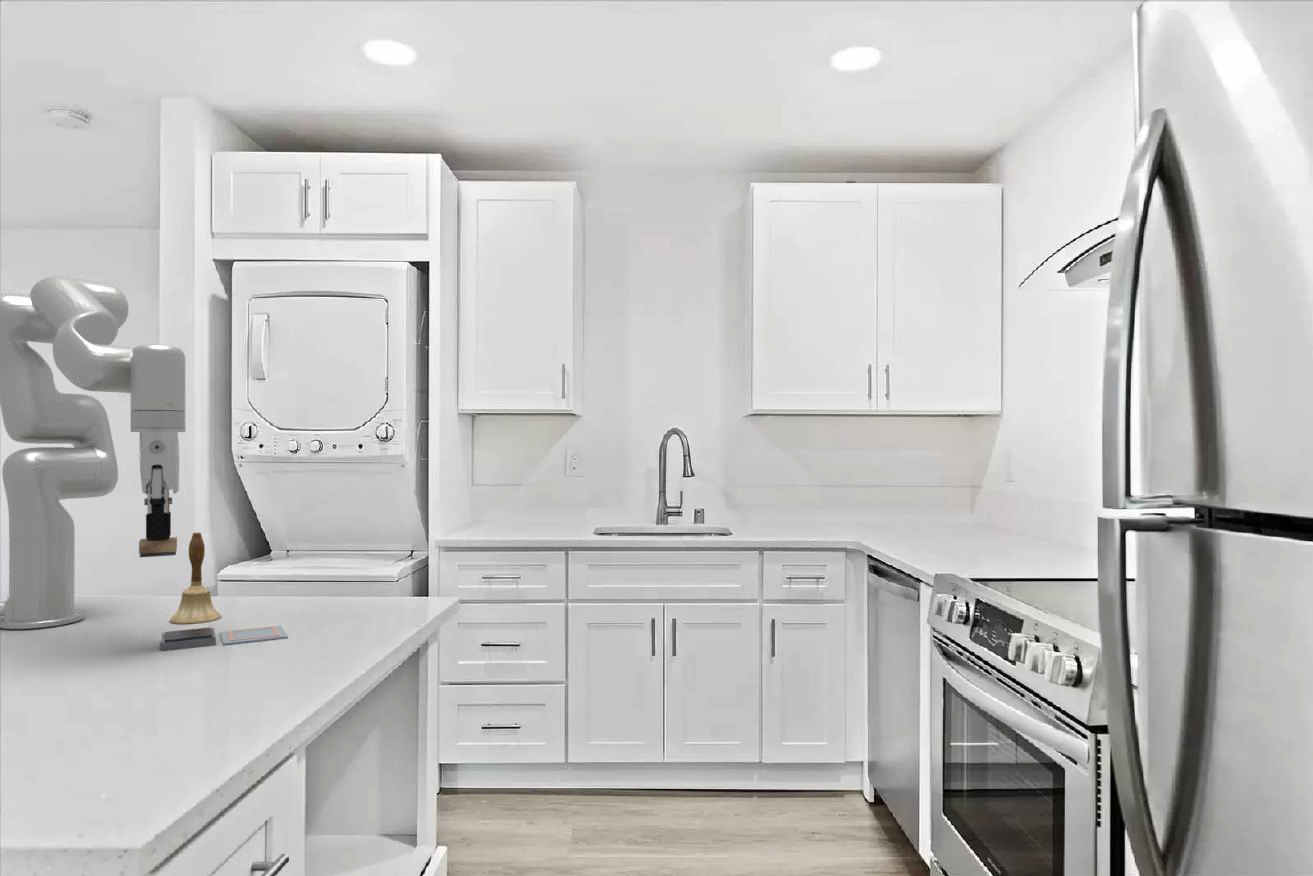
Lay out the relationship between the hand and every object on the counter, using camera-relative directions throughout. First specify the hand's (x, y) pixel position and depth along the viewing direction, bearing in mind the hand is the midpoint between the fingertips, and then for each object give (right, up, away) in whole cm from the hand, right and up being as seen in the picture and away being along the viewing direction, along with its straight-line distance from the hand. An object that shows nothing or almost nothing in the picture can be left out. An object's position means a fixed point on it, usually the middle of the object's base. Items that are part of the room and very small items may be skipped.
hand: (158, 537), depth 132 cm
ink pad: (+3, -17, +2) cm, 18 cm away
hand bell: (-5, -18, +20) cm, 27 cm away
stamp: (0, -3, 0) cm, 3 cm away
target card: (+12, -18, +7) cm, 22 cm away
